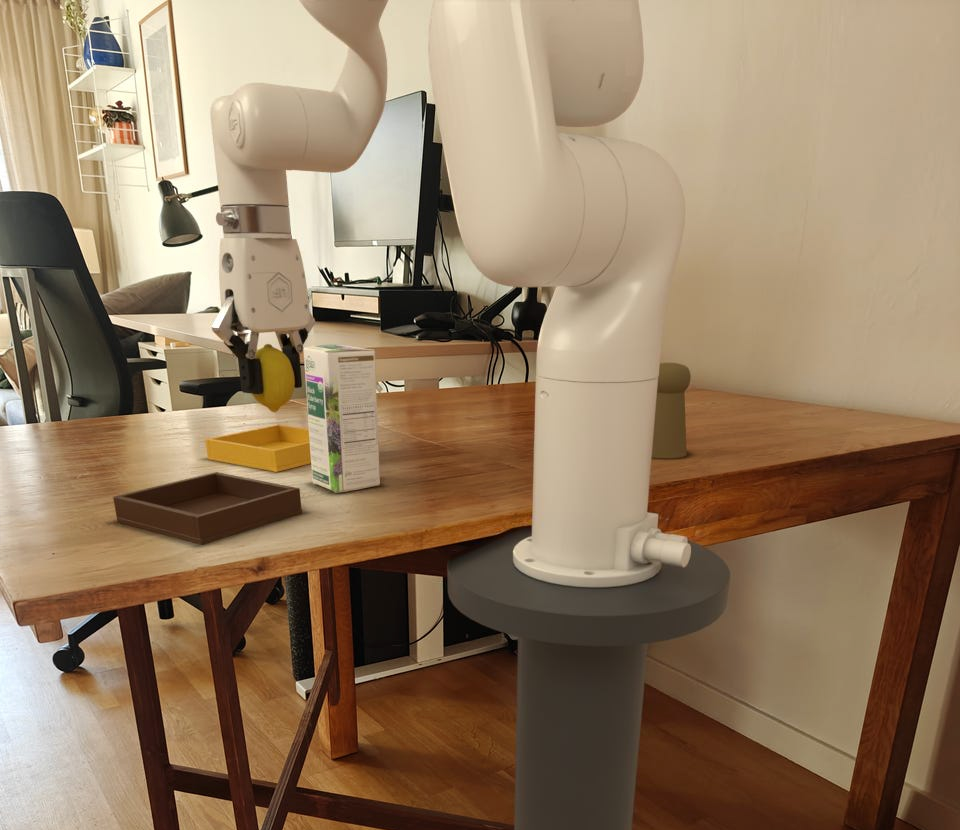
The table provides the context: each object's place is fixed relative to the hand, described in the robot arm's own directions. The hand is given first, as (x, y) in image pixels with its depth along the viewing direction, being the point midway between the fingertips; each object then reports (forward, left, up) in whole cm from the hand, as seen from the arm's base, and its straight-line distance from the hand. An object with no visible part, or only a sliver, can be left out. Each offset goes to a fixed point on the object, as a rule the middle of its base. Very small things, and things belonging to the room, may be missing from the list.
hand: (272, 388), depth 105 cm
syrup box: (-17, +6, -8) cm, 20 cm away
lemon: (0, 0, -3) cm, 3 cm away
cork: (-39, -29, -8) cm, 49 cm away
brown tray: (-15, +23, -8) cm, 29 cm away
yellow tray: (0, 0, -8) cm, 8 cm away
